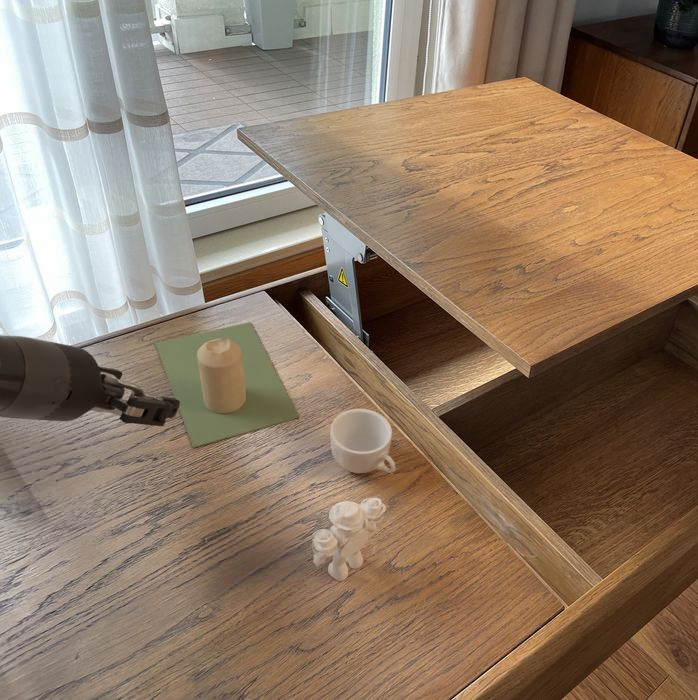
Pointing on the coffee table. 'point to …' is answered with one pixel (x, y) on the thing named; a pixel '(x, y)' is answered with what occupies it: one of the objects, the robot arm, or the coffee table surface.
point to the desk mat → (260, 384)
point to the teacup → (361, 441)
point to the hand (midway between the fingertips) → (145, 393)
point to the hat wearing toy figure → (346, 535)
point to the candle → (222, 375)
